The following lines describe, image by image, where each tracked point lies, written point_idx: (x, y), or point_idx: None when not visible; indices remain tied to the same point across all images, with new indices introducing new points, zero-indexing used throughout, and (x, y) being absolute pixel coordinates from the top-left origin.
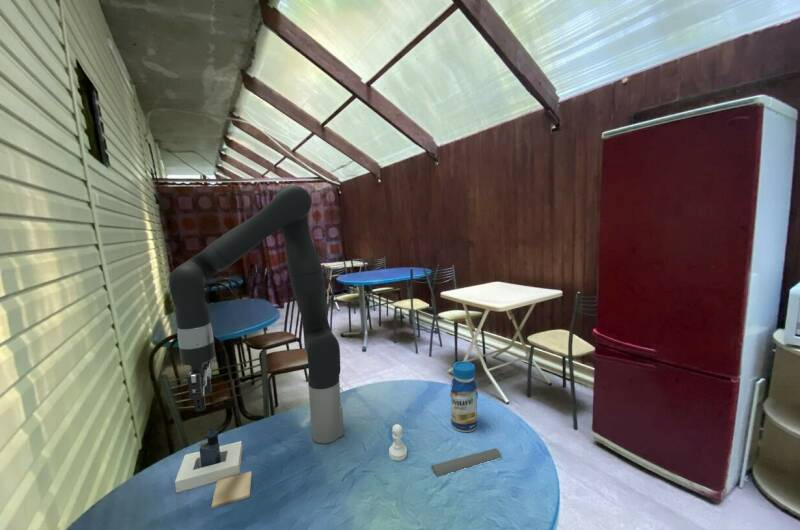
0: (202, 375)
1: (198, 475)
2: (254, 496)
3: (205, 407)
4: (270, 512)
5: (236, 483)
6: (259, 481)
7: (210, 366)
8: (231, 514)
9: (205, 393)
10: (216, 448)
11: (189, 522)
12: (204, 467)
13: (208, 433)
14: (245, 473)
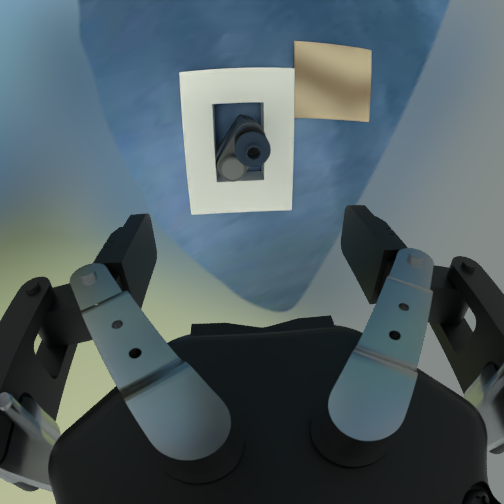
0: (432, 382)
1: (292, 161)
2: (370, 41)
3: (354, 205)
4: (418, 24)
5: (324, 73)
6: (330, 27)
7: (20, 331)
8: (396, 86)
9: (153, 243)
10: (260, 128)
11: (379, 157)
12: None
13: (252, 162)
14: (297, 54)
